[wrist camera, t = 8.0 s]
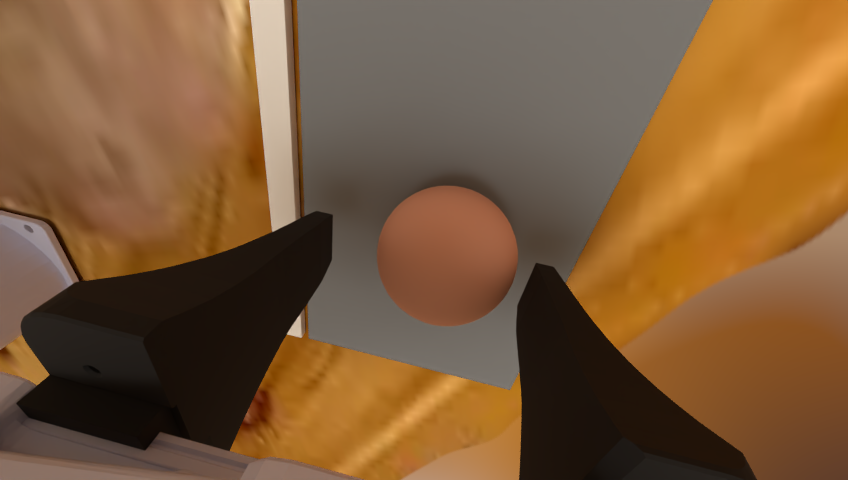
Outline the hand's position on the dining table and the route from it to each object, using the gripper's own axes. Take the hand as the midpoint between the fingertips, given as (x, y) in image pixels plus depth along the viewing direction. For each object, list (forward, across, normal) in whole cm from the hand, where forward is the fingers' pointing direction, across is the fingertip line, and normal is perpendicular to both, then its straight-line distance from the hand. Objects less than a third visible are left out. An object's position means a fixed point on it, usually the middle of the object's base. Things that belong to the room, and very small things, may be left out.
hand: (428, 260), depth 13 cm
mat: (+3, +1, 0) cm, 4 cm away
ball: (0, -1, 0) cm, 1 cm away
